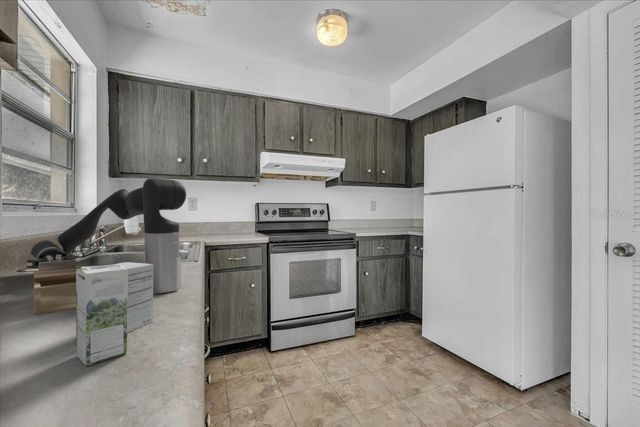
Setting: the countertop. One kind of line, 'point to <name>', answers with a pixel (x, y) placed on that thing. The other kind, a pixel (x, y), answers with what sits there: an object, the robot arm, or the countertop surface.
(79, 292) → the syrup box
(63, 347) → the countertop surface
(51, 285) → the box
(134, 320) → the supplement box
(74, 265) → the brown wooden block
